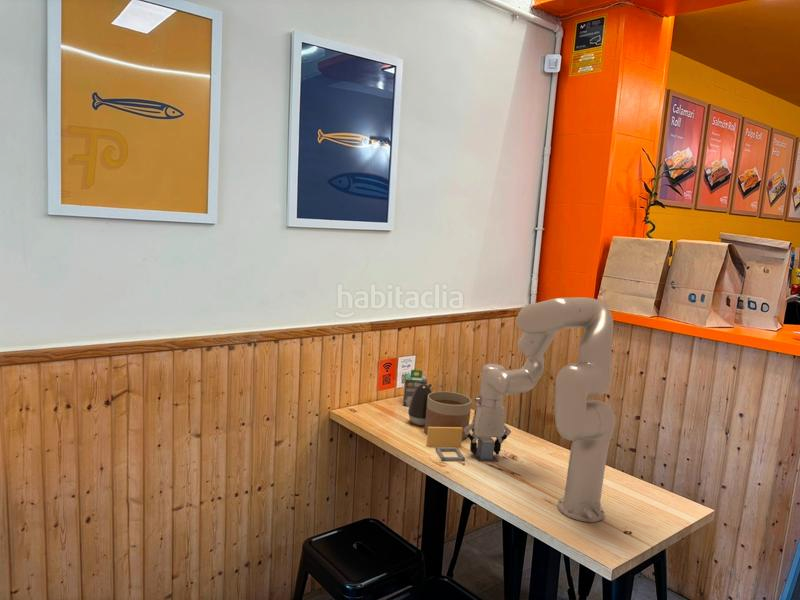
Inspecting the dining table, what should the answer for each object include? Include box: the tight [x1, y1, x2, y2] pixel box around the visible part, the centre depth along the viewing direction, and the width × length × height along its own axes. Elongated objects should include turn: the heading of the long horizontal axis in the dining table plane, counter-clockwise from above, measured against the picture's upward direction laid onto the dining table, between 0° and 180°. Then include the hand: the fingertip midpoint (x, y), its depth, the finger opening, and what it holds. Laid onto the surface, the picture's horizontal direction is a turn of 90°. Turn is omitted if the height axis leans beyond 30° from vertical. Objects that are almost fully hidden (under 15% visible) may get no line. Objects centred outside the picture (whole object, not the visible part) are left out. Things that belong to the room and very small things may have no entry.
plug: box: [477, 437, 495, 459], centre depth 194 cm, size 5×4×6 cm
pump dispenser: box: [407, 383, 433, 427], centre depth 221 cm, size 10×10×15 cm
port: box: [426, 427, 466, 462], centre depth 194 cm, size 13×12×7 cm
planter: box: [424, 390, 472, 441], centre depth 211 cm, size 16×16×14 cm
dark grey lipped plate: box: [469, 449, 499, 463], centre depth 194 cm, size 9×7×2 cm
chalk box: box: [402, 369, 428, 407], centre depth 244 cm, size 9×9×15 cm
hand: (484, 452), depth 194 cm, fingers open, 7 cm apart
